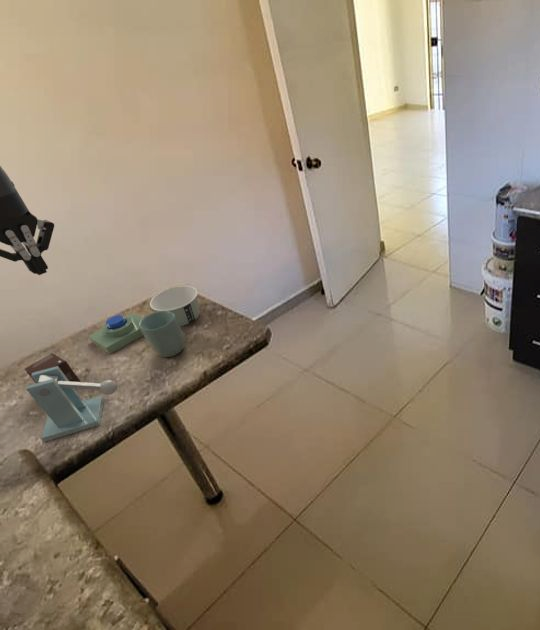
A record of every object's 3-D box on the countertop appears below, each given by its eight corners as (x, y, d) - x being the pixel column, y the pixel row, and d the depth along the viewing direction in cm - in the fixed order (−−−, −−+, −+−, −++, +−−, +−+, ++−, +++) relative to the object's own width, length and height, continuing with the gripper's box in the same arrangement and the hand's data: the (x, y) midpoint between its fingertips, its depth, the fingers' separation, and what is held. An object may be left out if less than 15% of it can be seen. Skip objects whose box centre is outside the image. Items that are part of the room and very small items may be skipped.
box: (69, 374, 104) (52, 352, 100) (82, 383, 102) (66, 360, 97) (41, 391, 100) (23, 368, 96) (55, 400, 97) (36, 377, 93)
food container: (214, 308, 124) (207, 289, 120) (182, 333, 115) (173, 314, 111) (182, 301, 128) (174, 282, 124) (149, 324, 119) (139, 305, 115)
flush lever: (116, 388, 95) (119, 377, 94) (115, 398, 92) (118, 387, 91) (39, 384, 87) (41, 371, 86) (35, 394, 85) (37, 382, 84)
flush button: (114, 331, 111) (110, 326, 110) (106, 326, 113) (102, 321, 112) (129, 323, 114) (126, 318, 113) (121, 318, 116) (118, 313, 115)
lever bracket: (104, 399, 97) (75, 357, 90) (99, 424, 92) (68, 382, 84) (52, 414, 94) (17, 372, 87) (44, 442, 88) (5, 399, 81)
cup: (195, 345, 111) (181, 314, 105) (170, 365, 106) (154, 333, 100) (174, 338, 114) (159, 307, 108) (148, 356, 108) (131, 325, 102)
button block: (109, 354, 110) (102, 342, 107) (92, 342, 114) (84, 330, 111) (154, 328, 118) (148, 317, 115) (136, 318, 122) (130, 307, 119)
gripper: (22, 178, 86) (66, 255, 97) (-63, 200, 78) (-4, 282, 88) (39, 184, 83) (83, 263, 93) (-48, 208, 74) (12, 293, 84)
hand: (41, 272), depth 91 cm, fingers closed
